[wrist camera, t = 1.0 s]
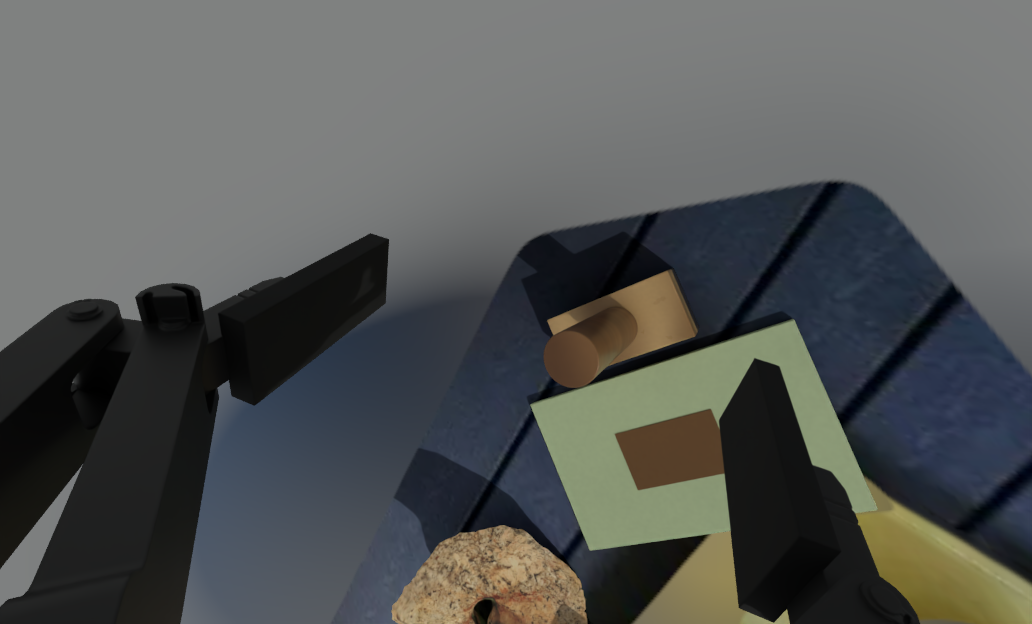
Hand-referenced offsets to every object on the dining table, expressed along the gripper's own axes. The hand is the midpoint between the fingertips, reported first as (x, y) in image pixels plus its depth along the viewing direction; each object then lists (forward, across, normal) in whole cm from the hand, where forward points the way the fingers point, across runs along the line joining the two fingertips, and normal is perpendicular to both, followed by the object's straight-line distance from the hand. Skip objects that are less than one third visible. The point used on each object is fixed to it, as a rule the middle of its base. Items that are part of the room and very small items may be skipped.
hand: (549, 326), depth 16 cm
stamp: (+20, +4, -10) cm, 23 cm away
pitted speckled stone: (+13, +3, -38) cm, 40 cm away
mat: (+17, +11, -17) cm, 26 cm away
